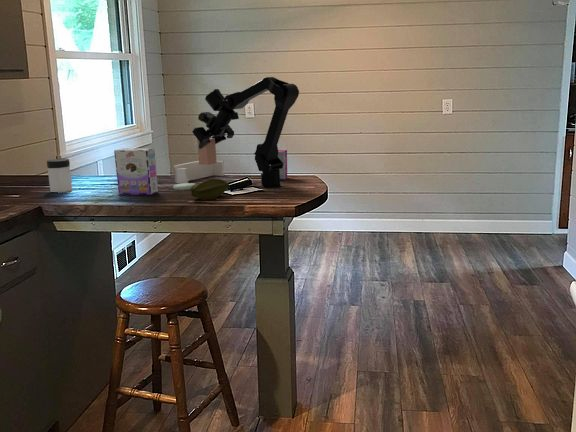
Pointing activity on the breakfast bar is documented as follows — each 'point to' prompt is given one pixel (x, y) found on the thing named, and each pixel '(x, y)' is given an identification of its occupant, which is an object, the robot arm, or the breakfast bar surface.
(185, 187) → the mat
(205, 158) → the block
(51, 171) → the jar
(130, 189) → the candy box
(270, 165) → the robot arm
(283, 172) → the supplement box
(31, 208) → the breakfast bar surface
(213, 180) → the fruit
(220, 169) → the bay
